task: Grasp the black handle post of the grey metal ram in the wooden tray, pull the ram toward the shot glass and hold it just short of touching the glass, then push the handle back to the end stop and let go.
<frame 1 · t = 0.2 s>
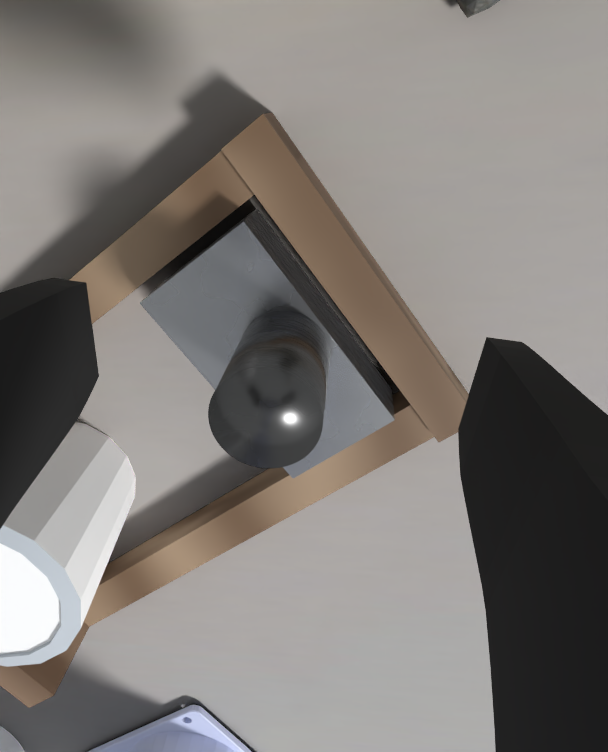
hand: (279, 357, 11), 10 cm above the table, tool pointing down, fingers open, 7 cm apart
wooden tray: (154, 419, 24), on the table
shot glass: (75, 472, 25), resting in wooden tray
ram: (266, 376, 18), point 4 cm above the table, slide at 0.0 cm
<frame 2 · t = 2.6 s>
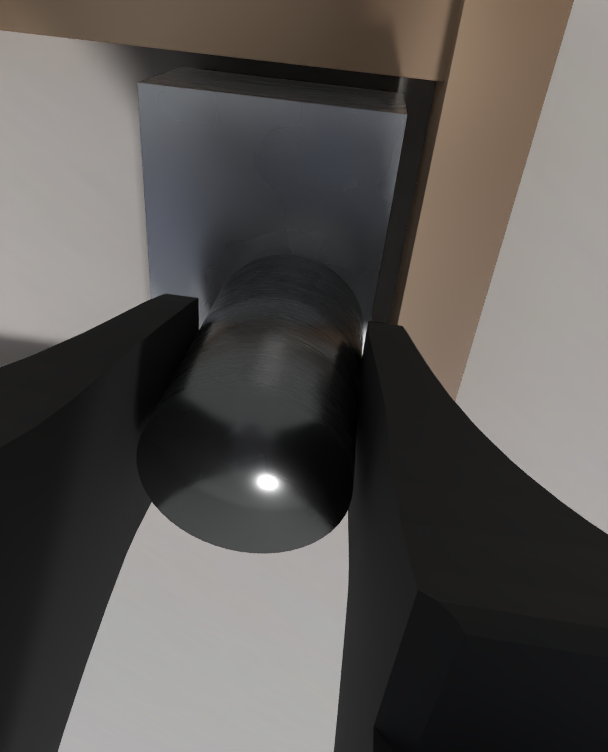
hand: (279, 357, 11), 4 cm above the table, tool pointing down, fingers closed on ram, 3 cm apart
wooden tray: (13, 233, 14), on the table
ram: (249, 347, 11), point 4 cm above the table, slide at 0.0 cm, touching gripper
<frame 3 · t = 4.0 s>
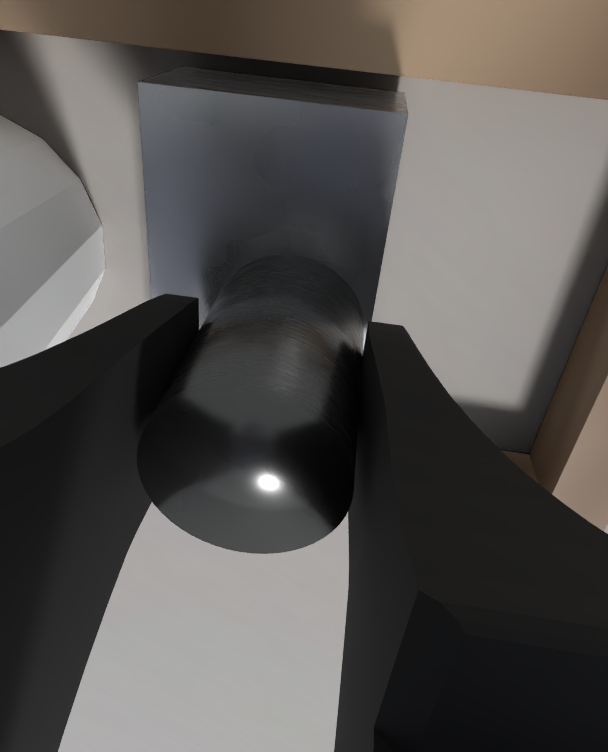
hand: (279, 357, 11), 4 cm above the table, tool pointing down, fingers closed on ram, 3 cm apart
wooden tray: (193, 257, 14), on the table
ram: (249, 347, 11), point 4 cm above the table, slide at 4.5 cm, touching gripper
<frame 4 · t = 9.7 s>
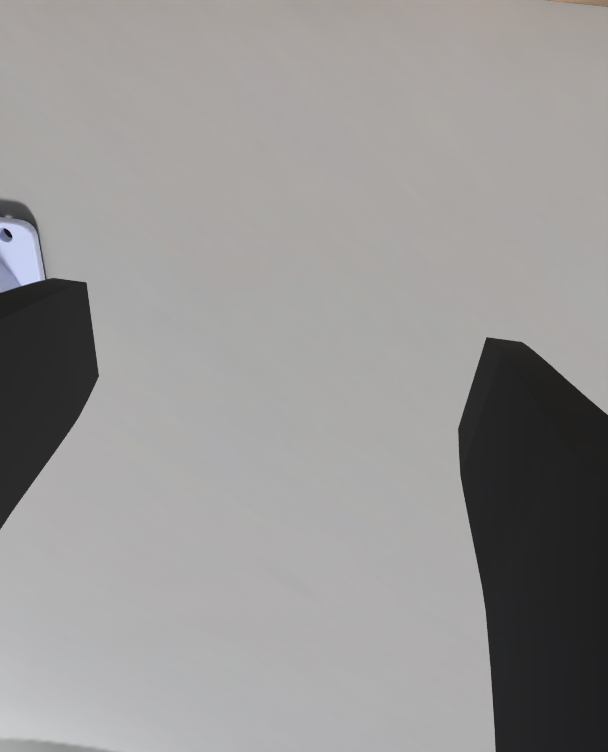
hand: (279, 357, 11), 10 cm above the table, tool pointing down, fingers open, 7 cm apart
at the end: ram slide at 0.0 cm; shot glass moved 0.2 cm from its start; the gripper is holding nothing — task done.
